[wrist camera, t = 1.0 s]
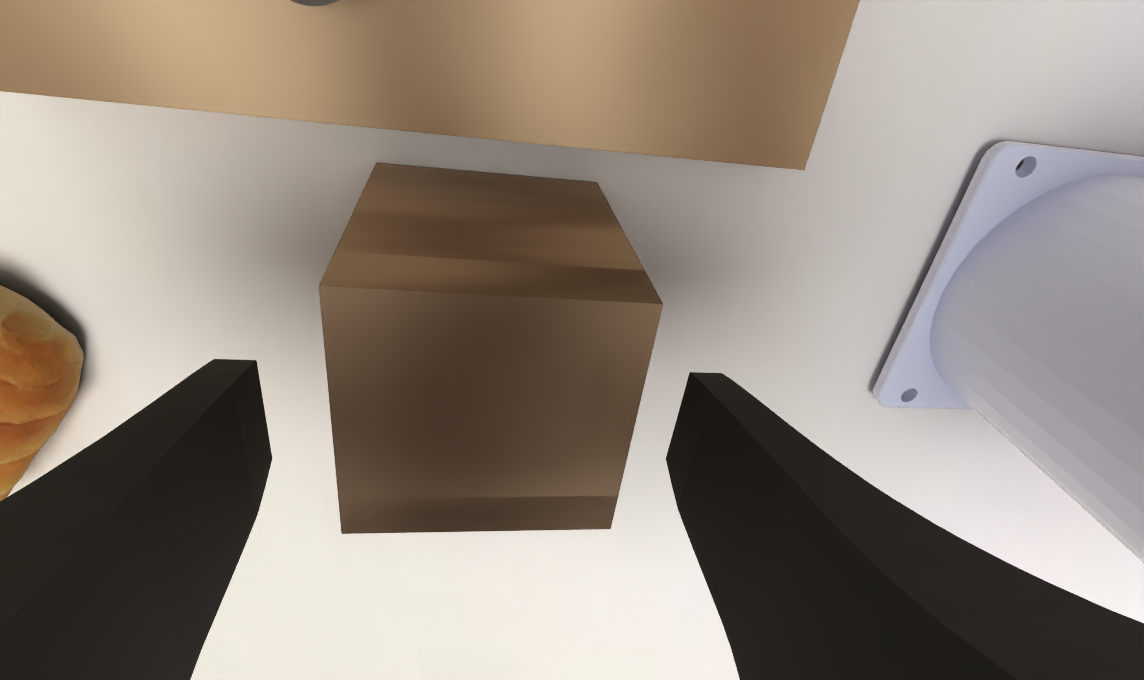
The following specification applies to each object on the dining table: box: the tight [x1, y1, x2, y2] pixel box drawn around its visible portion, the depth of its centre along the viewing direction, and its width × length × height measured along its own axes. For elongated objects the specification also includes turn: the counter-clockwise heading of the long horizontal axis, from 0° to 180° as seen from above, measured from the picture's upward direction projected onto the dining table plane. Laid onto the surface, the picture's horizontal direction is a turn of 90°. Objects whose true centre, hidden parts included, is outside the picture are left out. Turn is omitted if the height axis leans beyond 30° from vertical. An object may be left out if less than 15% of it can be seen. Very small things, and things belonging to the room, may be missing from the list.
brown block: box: [319, 163, 663, 534], centre depth 13 cm, size 5×5×6 cm
